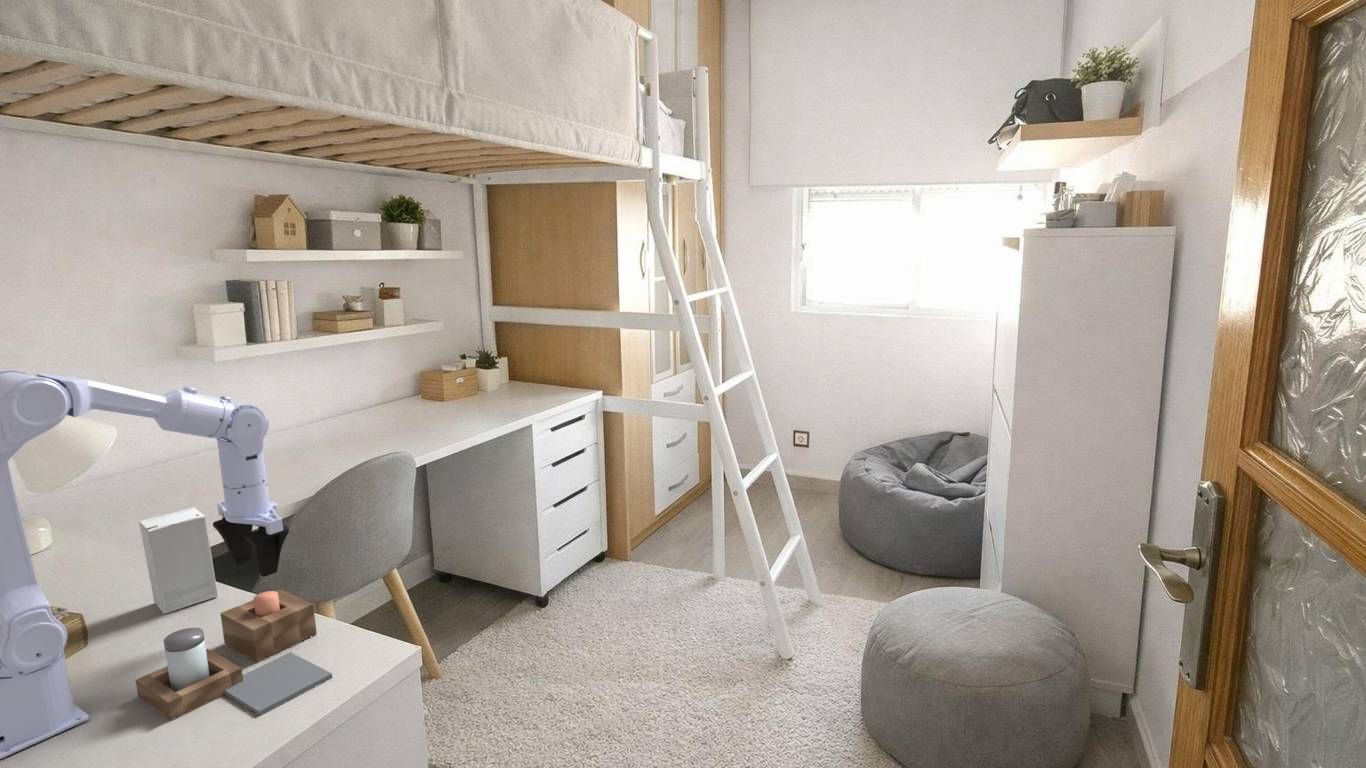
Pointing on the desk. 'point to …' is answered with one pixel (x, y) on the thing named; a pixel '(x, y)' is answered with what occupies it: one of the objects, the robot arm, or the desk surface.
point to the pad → (276, 683)
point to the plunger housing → (268, 627)
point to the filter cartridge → (186, 658)
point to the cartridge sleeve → (178, 703)
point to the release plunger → (266, 603)
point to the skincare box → (179, 559)
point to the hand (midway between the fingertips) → (255, 567)
